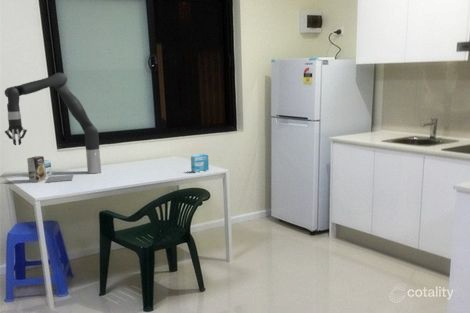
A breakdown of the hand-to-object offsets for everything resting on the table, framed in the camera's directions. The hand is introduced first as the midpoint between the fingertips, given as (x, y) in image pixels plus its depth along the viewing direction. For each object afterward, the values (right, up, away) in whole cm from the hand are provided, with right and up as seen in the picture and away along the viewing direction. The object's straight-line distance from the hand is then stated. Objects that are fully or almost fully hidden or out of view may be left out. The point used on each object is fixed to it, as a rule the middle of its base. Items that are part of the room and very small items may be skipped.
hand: (17, 144), depth 285 cm
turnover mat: (+24, -23, +11) cm, 35 cm away
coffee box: (+10, -24, +7) cm, 27 cm away
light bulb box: (+6, -21, +24) cm, 33 cm away
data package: (+118, -19, +27) cm, 122 cm away
